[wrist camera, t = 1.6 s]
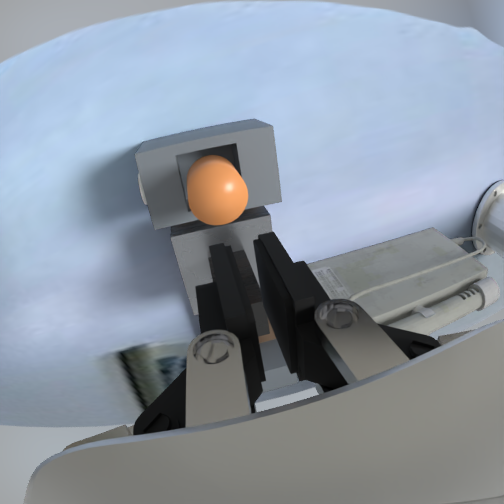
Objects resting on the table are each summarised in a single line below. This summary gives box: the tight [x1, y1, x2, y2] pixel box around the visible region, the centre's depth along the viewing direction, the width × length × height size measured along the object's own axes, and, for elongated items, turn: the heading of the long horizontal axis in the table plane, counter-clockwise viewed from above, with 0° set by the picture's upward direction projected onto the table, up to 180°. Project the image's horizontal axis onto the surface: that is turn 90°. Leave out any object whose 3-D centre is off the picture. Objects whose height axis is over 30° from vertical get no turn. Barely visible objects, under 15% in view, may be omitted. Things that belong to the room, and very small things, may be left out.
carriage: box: [170, 206, 272, 337], centre depth 25 cm, size 8×8×10 cm
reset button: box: [187, 155, 248, 225], centre depth 21 cm, size 4×4×4 cm
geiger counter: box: [307, 228, 500, 336], centre depth 31 cm, size 14×6×25 cm
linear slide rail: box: [134, 119, 297, 393], centre depth 31 cm, size 10×29×6 cm, turn 8°
